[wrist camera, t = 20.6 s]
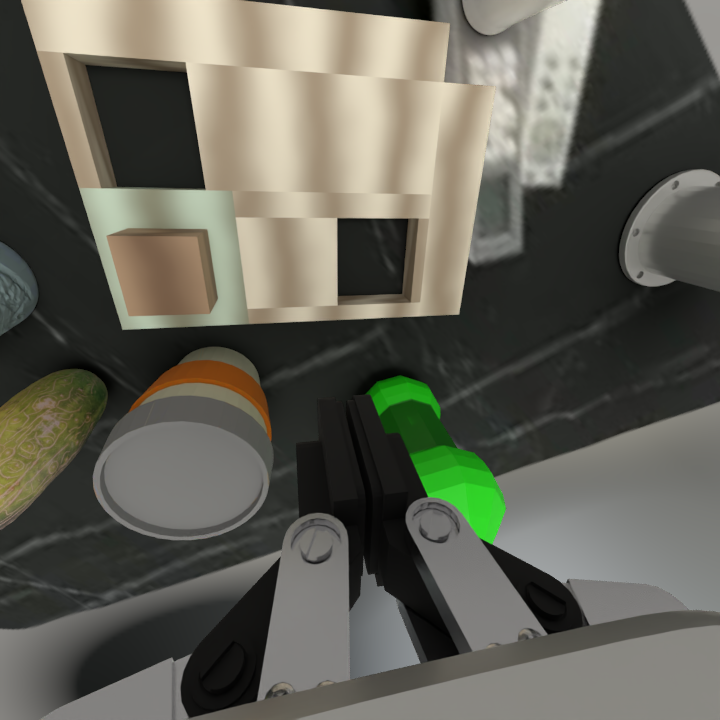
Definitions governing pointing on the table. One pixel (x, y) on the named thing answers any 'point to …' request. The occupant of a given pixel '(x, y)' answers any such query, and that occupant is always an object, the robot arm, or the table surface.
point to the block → (164, 271)
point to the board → (281, 147)
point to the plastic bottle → (439, 454)
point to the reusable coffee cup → (190, 451)
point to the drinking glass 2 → (502, 13)
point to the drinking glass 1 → (15, 289)
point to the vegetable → (45, 434)
